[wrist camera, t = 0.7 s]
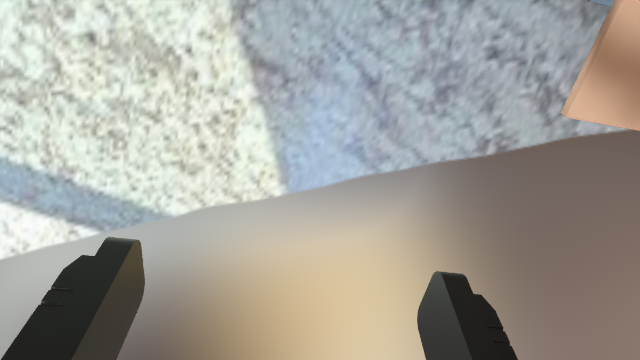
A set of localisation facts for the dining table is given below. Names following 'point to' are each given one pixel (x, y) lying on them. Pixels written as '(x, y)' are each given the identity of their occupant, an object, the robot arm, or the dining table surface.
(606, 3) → the blue open bin
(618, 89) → the lever
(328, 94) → the dining table surface
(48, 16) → the dining table surface
